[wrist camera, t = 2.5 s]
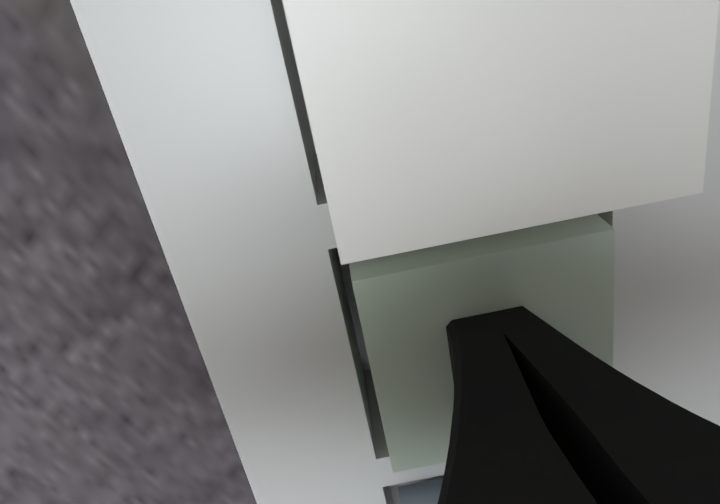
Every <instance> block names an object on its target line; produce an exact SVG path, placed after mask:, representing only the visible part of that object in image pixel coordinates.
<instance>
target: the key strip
mask: <svg viewBox="0 0 720 504" xmlns="http://www.w3.org/2000/svg"><path fill="white" fill-rule="evenodd" d="M70 2H71V4H72V7H73V10H74V13H75V15H76V18H77V21H78V23H79V26H80V29H81V31H82V34H83V37H84V39H85V42H86V45H87V48H88V50H89V53H90V56H91V58H92V61H93V64H94V66H95V69H96V72H97V74H98V77H99V80H100V82H101V85H102V88H103V91H104V93H105V96H106V99H107V101H108V104H109V107H110V109H111V112H112V115H113V117H114V120H115V123H116V125H117V128H118V131H119V134H120V136H121V139H122V142H123V144H124V147H125V150H126V152H127V155H128V158H129V160H130V163H131V166H132V168H133V171H134V174H135V177H136V179H137V182H138V185H139V187H140V190H141V193H142V195H143V198H144V201H145V203H146V206H147V209H148V212H149V214H150V217H151V220H152V222H153V225H154V228H155V230H156V233H157V236H158V238H159V241H160V244H161V246H162V249H163V252H164V255H165V257H166V260H167V263H168V265H169V268H170V271H171V273H172V276H173V279H174V281H175V284H176V287H177V289H178V292H179V295H180V298H181V300H182V303H183V306H184V308H185V311H186V314H187V316H188V319H189V322H190V324H191V327H192V330H193V333H194V335H195V338H196V341H197V343H198V346H199V349H200V351H201V354H202V357H203V359H204V362H205V365H206V367H207V370H208V373H209V376H210V378H211V381H212V384H213V386H214V389H215V392H216V394H217V397H218V400H219V402H220V405H221V408H222V410H223V413H224V416H225V419H226V421H227V424H228V427H229V429H230V432H231V435H232V437H233V440H234V443H235V445H236V448H237V451H238V454H239V456H240V459H241V462H242V464H243V467H244V470H245V472H246V475H247V478H248V480H249V483H250V486H251V488H252V491H253V494H254V497H255V499H256V502H257V504H400V498H399V492H398V487H399V486H404V485H409V484H414V483H420V482H425V481H430V480H435V479H440V478H443V476H444V471H445V466H446V462H445V463H440V464H435V465H430V466H425V467H420V468H415V469H409V470H404V471H399V472H394V473H393V471H392V466H391V461H390V457H389V452H388V448H387V443H386V438H385V434H384V429H383V424H382V420H381V415H380V411H379V406H378V401H377V397H376V392H375V387H374V383H373V378H372V374H371V369H370V364H369V360H368V355H367V351H366V346H365V341H364V337H363V332H362V327H361V323H360V318H359V314H358V309H357V304H356V300H355V295H354V290H353V286H352V281H351V274H350V267H349V263H348V264H343V265H341V262H340V257H339V253H338V248H337V244H336V239H335V235H334V230H333V226H332V221H331V217H330V212H329V208H328V203H327V199H326V194H325V190H324V185H323V181H322V176H321V172H320V167H319V163H318V158H317V154H316V149H315V145H314V140H313V136H312V131H311V127H310V122H309V118H308V113H307V109H306V104H305V100H304V95H303V91H302V86H301V82H300V77H299V73H298V68H297V64H296V59H295V55H294V50H293V46H292V41H291V37H290V32H289V28H288V23H287V19H286V14H285V10H284V5H283V1H282V0H70ZM597 215H599V216H600V217H601V218H602V219H603V220H604V221H606V222H607V223H608V224H609V225H610V226H612V227H613V228H614V229H615V258H614V330H613V368H615V369H616V370H618V371H619V372H621V373H623V374H624V375H626V376H628V377H629V378H631V379H633V380H634V381H636V382H638V383H640V384H641V385H643V386H645V387H647V388H648V389H650V390H652V391H654V392H655V393H657V394H659V395H661V396H663V397H664V398H666V399H668V400H670V401H671V402H673V403H675V404H677V405H679V406H681V407H683V408H685V409H687V410H688V411H690V412H692V413H694V414H696V415H698V416H700V417H702V418H704V419H707V420H709V421H711V422H713V423H715V424H717V425H719V426H720V0H719V9H718V21H717V33H716V45H715V56H714V68H713V80H712V92H711V103H710V115H709V127H708V139H707V150H706V162H705V174H704V185H703V193H698V194H693V195H688V196H683V197H678V198H673V199H668V200H663V201H658V202H653V203H648V204H643V205H638V206H633V207H628V208H623V209H618V210H613V211H608V212H603V213H598V214H597Z"/></svg>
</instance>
